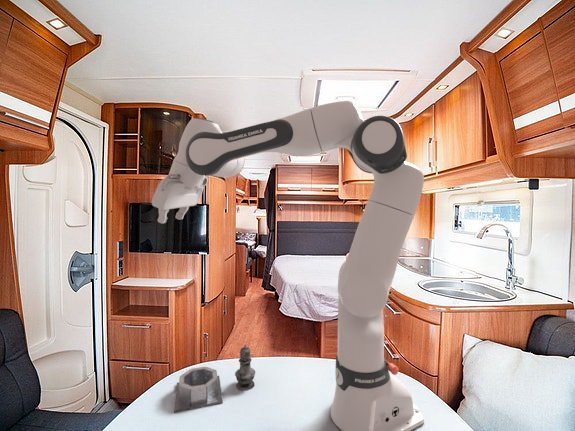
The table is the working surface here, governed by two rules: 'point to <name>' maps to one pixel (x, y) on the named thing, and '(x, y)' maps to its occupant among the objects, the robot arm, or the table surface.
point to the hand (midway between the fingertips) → (170, 220)
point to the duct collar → (197, 389)
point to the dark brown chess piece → (245, 371)
